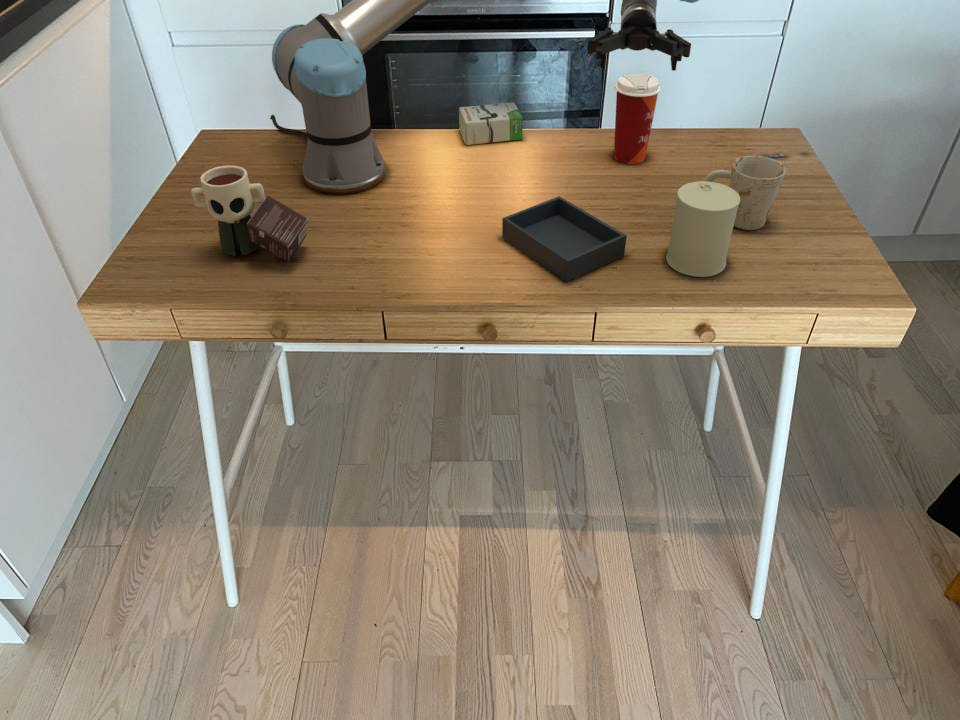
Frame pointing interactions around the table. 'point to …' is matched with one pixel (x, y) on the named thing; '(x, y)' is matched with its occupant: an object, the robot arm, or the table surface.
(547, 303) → the table surface
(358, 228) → the table surface
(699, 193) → the can
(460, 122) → the ink box
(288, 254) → the box
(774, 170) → the mug
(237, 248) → the character mug
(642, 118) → the coffee cup
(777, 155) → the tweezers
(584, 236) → the tray
